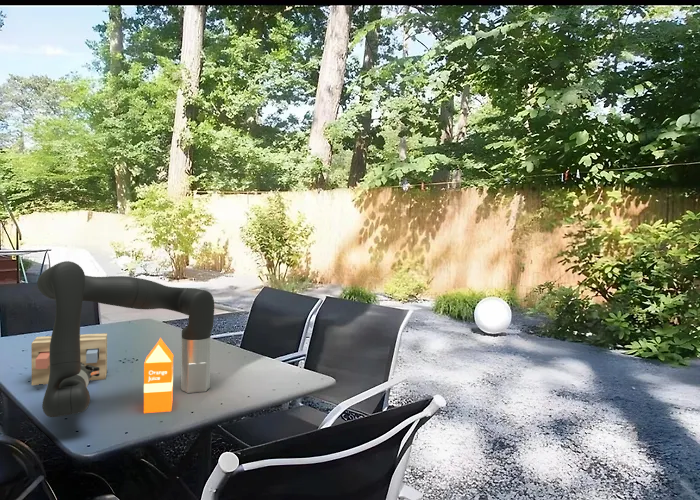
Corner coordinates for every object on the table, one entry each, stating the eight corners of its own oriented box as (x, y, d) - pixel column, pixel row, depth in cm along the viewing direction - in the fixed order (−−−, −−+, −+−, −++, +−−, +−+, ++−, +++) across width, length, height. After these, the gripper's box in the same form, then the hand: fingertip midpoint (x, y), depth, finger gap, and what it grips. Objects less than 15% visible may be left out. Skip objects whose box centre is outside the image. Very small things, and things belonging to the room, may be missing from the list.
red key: (47, 368, 163) (47, 358, 163) (35, 369, 161) (35, 359, 161) (52, 359, 173) (52, 350, 173) (41, 360, 172) (41, 350, 171)
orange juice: (143, 413, 147) (143, 344, 146) (146, 402, 156) (146, 337, 155) (171, 411, 150) (172, 343, 148) (173, 400, 158) (174, 336, 157)
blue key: (96, 362, 171) (96, 353, 171) (86, 363, 170) (86, 353, 170) (99, 354, 181) (99, 345, 181) (88, 355, 180) (88, 346, 180)
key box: (105, 379, 177) (105, 339, 176) (31, 385, 168) (31, 343, 168) (107, 371, 186) (107, 333, 185) (37, 376, 178) (36, 336, 177)
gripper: (99, 366, 148) (102, 352, 164) (46, 370, 143) (55, 355, 159) (99, 392, 148) (102, 375, 164) (47, 397, 143) (55, 379, 159)
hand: (79, 365), depth 162 cm, fingers closed
